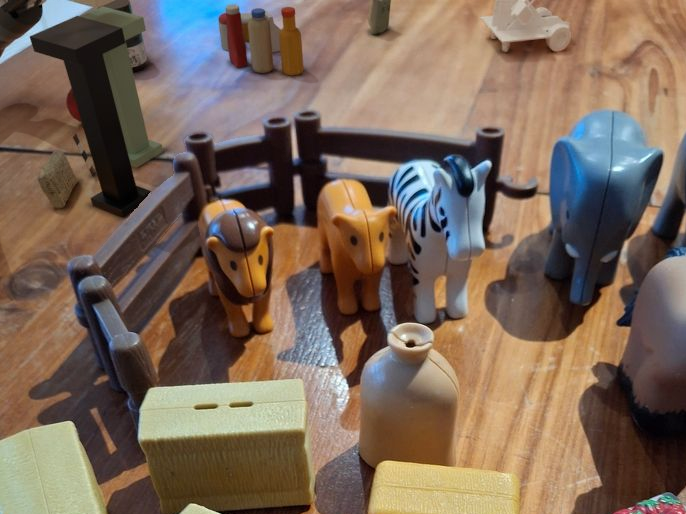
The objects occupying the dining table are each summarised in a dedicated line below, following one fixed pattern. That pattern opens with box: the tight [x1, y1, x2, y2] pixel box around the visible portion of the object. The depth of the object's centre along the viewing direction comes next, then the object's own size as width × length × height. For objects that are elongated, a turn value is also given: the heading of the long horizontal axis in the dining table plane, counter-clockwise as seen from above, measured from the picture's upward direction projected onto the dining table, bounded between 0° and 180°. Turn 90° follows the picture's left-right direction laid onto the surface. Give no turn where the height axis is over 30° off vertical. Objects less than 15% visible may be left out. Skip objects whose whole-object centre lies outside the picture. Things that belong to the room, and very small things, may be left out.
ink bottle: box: [96, 0, 149, 73], centre depth 152 cm, size 10×9×12 cm
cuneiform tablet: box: [37, 133, 96, 210], centre depth 121 cm, size 7×4×12 cm
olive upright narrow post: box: [367, 0, 392, 37], centre depth 164 cm, size 6×5×8 cm
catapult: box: [479, 0, 572, 53], centre depth 156 cm, size 18×14×16 cm
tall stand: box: [29, 15, 152, 219], centre depth 111 cm, size 9×9×26 cm
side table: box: [79, 6, 164, 169], centre depth 123 cm, size 9×9×22 cm
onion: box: [66, 88, 82, 123], centre depth 136 cm, size 6×6×8 cm
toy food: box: [217, 3, 305, 77], centre depth 154 cm, size 27×13×12 cm, turn 26°
